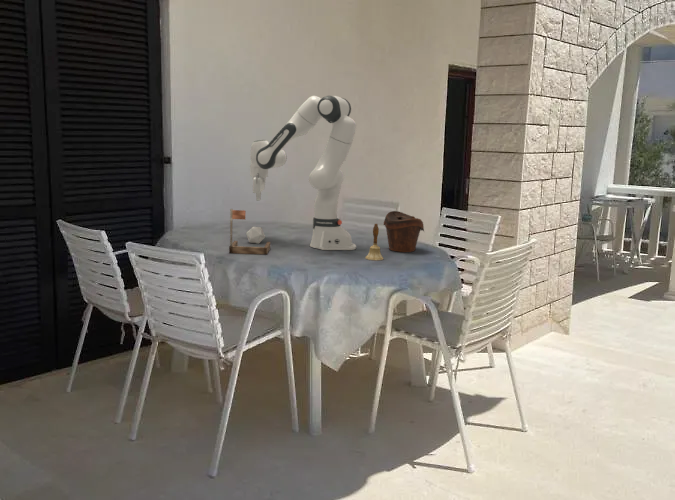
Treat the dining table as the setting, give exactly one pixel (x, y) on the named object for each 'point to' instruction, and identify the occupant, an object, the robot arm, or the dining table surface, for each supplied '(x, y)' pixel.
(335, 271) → the dining table surface
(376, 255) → the hand bell
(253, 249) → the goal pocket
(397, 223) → the brown lidded bucket
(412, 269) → the dining table surface
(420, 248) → the dining table surface
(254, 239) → the die
